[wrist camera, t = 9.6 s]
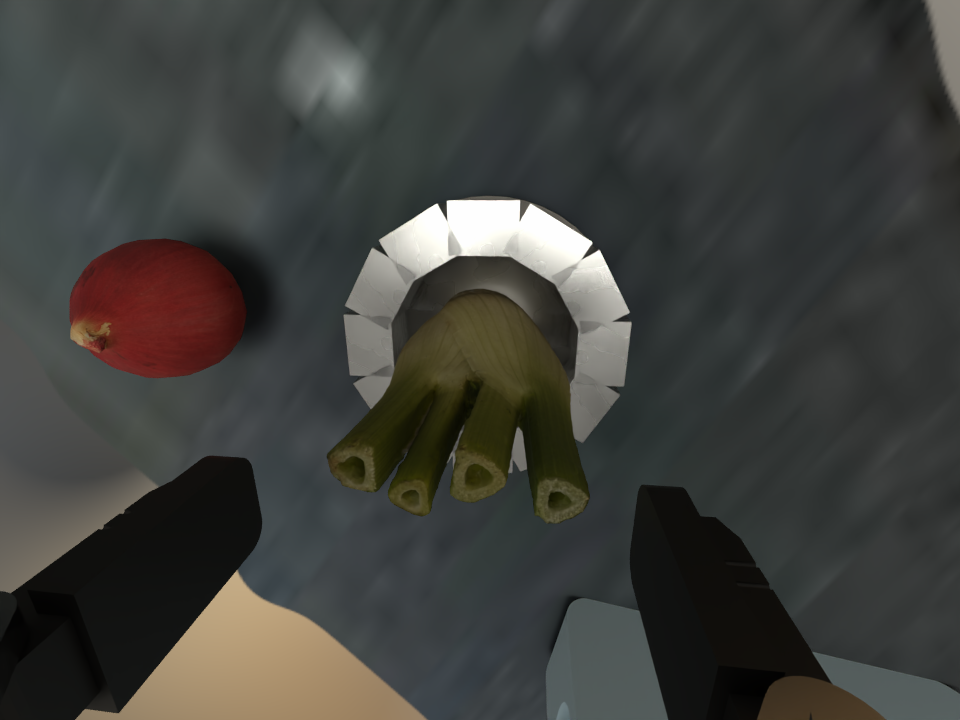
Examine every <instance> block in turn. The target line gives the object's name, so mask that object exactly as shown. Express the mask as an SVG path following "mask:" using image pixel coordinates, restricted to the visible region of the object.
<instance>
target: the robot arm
mask: <svg viewBox="0 0 960 720" xmlns="http://www.w3.org/2000/svg"><path fill="white" fill-rule="evenodd" d="M261 529H262V516H261V511H260V506H259V501H258V495H257V490H256V485H255V479H254V474H253V469H252V466H251V463H250V462H249V461H248V460H247V459H245V458H239V457H223V456H206V457H204V458H202V459H201V460H200V461H198V462H197V463H196V464H194V465H193V466H192V467H190V468H189V469H188V470H186V471H185V472H184V473H182V474H181V475H180V476H178V477H177V478H176V479H174V480H173V481H171V482H169V483H167V484H165V485H163V486H161V487H159V488H157V489H155V490H152V491H151V492H149V493H147V494H146V495H144V496H143V497H142V498H140V499H139V500H138V501H137V502H135V503H134V504H132V505H131V506H130V507H128V508H127V509H125V512H124V514H119V515H117V516H116V517H114V518H113V519H112V520H110V521H109V522H108V523H106V524H105V525H104V528H103V529H102V530H100V529H98V530H97V531H96V532H94V533H93V534H91V535H90V536H89V537H87V538H86V539H84V540H83V541H82V542H80V543H79V544H78V545H76V546H75V547H73V548H72V549H71V550H69V551H68V552H67V553H66V554H64V555H63V556H61V557H60V558H59V559H57V560H56V561H54V562H53V563H52V564H50V565H49V566H48V567H46V568H45V569H44V570H42V571H41V572H40V573H38V574H37V575H35V576H34V577H33V578H32V579H30V580H29V581H27V582H26V583H25V584H23V585H22V586H20V587H19V588H18V589H16V590H15V591H13V592H12V593H8V592H3V591H0V720H75V719H76V718H77V717H78V716H79V715H80V714H81V712H82V711H83V710H84V709H90V710H98V711H105V712H113V713H119V712H120V711H121V710H122V709H123V707H124V706H125V705H126V704H127V703H128V701H129V700H130V699H131V698H132V696H133V695H134V694H135V693H136V692H137V690H138V689H139V688H140V687H141V686H142V684H143V683H144V682H145V681H146V679H147V678H148V677H149V676H150V675H151V673H152V672H153V671H154V669H156V667H157V666H158V665H159V664H160V663H161V661H162V660H163V659H164V658H165V656H166V655H167V654H168V653H169V652H170V650H171V649H172V648H173V647H174V646H175V644H176V643H177V642H178V641H179V640H180V638H181V637H182V636H183V635H184V633H185V632H186V631H187V630H188V629H189V627H190V626H191V625H192V624H193V623H194V621H195V620H196V619H197V618H198V616H199V615H200V614H201V613H202V611H203V610H204V609H205V608H206V607H207V606H208V604H209V603H210V602H211V601H212V599H213V598H214V597H215V596H216V595H217V593H218V592H219V591H220V590H221V589H222V587H223V586H224V585H225V584H226V582H227V581H228V580H229V579H230V578H231V576H232V575H233V574H234V573H235V572H236V570H237V569H238V568H239V567H240V566H241V564H242V563H243V562H244V561H245V559H246V558H247V557H248V556H249V555H250V553H251V552H252V551H253V549H254V548H255V546H256V544H257V542H258V540H259V537H260V534H261ZM630 571H631V579H632V585H633V589H634V593H635V596H636V600H637V604H638V608H639V611H640V615H641V619H642V623H643V626H644V630H645V634H646V638H647V642H648V645H649V649H650V653H651V657H652V660H653V664H654V668H655V672H656V675H657V679H658V683H659V687H660V691H661V694H662V698H663V702H664V706H665V709H666V713H667V717H668V720H886V719H885V718H884V717H883V716H882V715H880V714H879V713H878V712H877V711H876V710H875V709H873V708H872V707H870V706H869V705H868V704H866V703H865V702H864V701H862V700H861V699H859V698H857V697H856V696H854V695H853V694H851V693H849V692H847V691H846V690H844V689H842V688H840V687H838V686H836V685H833V684H832V682H831V681H830V679H829V678H828V676H827V675H826V673H825V672H824V670H823V668H822V667H821V665H820V664H819V662H818V660H817V659H816V657H815V656H814V654H813V653H812V651H811V649H810V648H809V646H808V645H807V643H806V642H805V640H804V638H803V637H802V635H801V634H800V632H799V630H798V629H797V627H796V626H795V624H794V623H793V621H792V619H791V618H790V616H789V615H788V613H787V611H786V610H785V608H784V607H783V605H782V604H781V602H780V600H779V599H778V597H777V596H776V594H775V592H774V591H773V590H770V588H769V583H768V581H767V580H766V578H765V577H764V575H763V573H762V572H761V570H760V569H759V568H756V562H755V561H754V559H753V558H752V556H751V554H750V553H749V551H748V550H747V548H746V547H745V545H744V543H743V542H742V540H741V539H740V538H739V537H738V536H737V535H736V534H735V533H733V532H732V531H731V530H730V529H729V528H727V527H726V526H725V525H724V524H723V523H722V522H720V521H719V520H718V519H717V518H716V517H702V516H700V515H699V513H698V511H697V509H696V508H695V506H694V504H693V502H692V500H691V498H690V497H689V495H688V493H687V491H686V490H685V489H684V488H682V487H669V486H654V485H641V486H640V488H639V491H638V497H637V504H636V511H635V519H634V526H633V534H632V541H631V549H630Z"/></svg>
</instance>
